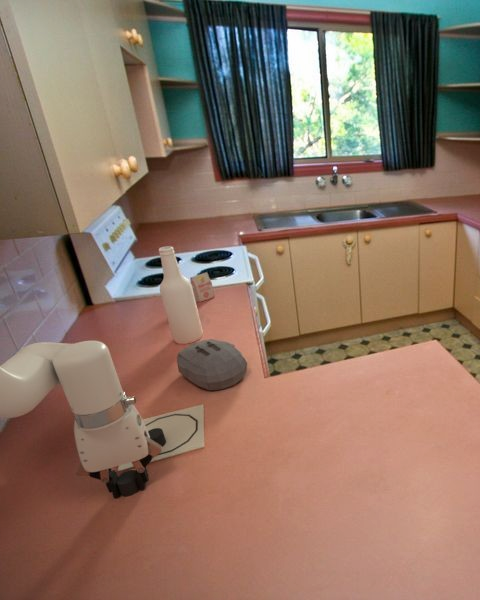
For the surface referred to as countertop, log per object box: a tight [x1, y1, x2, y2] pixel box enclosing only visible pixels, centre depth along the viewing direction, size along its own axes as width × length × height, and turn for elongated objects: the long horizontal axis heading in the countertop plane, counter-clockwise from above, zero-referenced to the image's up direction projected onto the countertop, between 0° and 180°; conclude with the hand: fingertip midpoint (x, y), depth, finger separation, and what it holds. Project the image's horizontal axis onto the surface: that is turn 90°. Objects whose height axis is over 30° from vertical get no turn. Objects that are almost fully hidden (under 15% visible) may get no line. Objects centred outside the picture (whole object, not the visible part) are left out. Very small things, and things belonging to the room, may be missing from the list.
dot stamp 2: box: [148, 428, 166, 450], centre depth 91 cm, size 4×4×3 cm
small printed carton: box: [189, 272, 216, 304], centre depth 164 cm, size 4×7×10 cm, turn 144°
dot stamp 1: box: [116, 469, 141, 497], centre depth 80 cm, size 4×4×3 cm
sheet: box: [117, 403, 206, 473], centre depth 94 cm, size 16×16×1 cm
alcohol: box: [158, 245, 204, 345], centre depth 130 cm, size 9×9×30 cm
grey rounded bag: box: [176, 338, 248, 391], centre depth 115 cm, size 15×8×20 cm
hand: (130, 487), depth 81 cm, fingers closed on dot stamp 1, 3 cm apart
